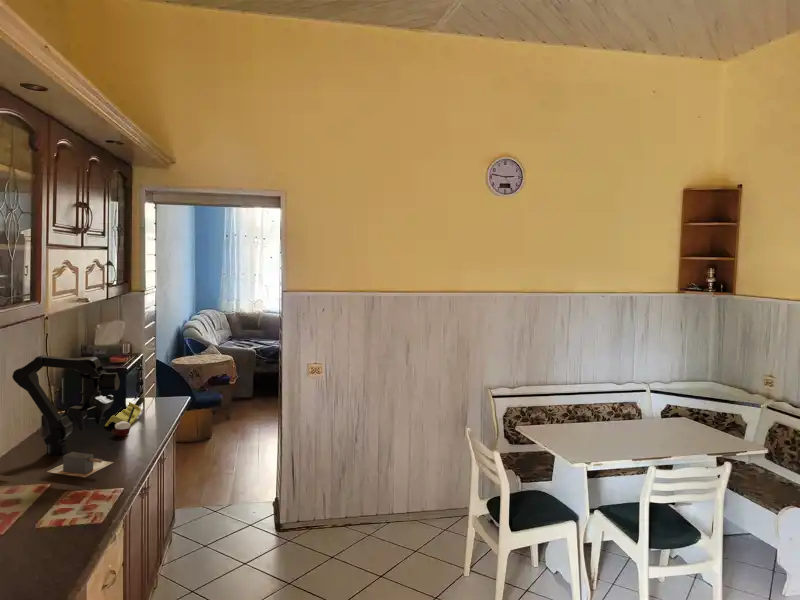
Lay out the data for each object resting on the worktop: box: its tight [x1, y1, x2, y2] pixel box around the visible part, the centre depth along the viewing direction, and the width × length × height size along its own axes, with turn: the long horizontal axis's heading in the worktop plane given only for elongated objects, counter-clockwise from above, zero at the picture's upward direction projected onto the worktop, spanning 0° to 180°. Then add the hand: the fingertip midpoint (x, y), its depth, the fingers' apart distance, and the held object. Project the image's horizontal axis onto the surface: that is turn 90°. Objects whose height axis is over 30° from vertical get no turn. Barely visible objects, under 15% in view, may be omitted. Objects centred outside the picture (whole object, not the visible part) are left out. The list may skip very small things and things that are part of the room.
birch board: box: [46, 460, 114, 478], centre depth 232 cm, size 16×16×2 cm
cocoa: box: [111, 407, 135, 437], centre depth 274 cm, size 10×6×12 cm, turn 109°
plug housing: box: [62, 451, 103, 475], centre depth 226 cm, size 14×4×6 cm, turn 79°
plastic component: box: [104, 401, 142, 427], centre depth 295 cm, size 20×7×10 cm
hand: (90, 427), depth 245 cm, fingers open, 9 cm apart
